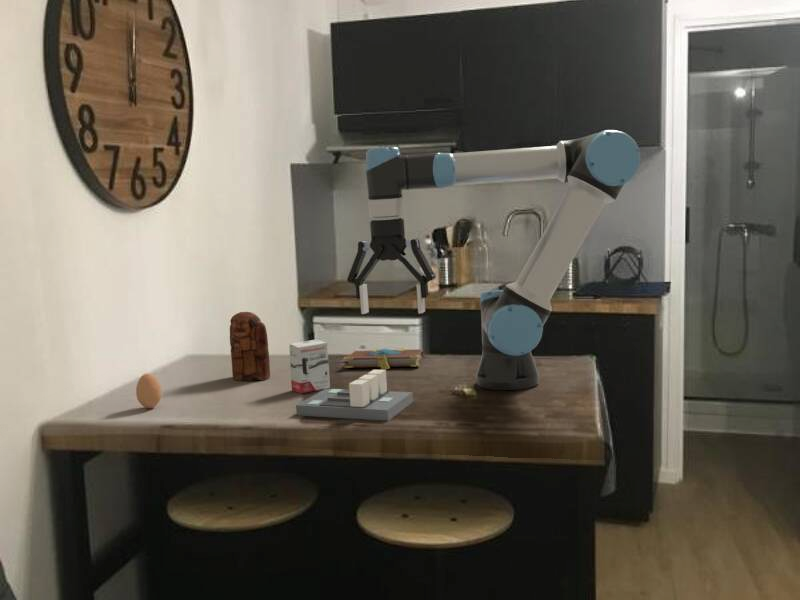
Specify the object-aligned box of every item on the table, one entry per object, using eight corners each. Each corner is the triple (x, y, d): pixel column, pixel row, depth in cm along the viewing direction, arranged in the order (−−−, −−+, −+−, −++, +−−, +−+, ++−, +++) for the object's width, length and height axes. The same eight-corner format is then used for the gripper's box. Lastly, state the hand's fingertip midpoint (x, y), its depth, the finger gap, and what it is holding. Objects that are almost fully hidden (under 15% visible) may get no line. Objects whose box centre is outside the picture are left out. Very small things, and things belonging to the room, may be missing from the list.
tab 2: (378, 396, 190) (377, 375, 190) (372, 400, 187) (370, 378, 186) (366, 396, 191) (365, 374, 191) (359, 400, 188) (358, 378, 187)
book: (340, 363, 246) (339, 346, 245) (425, 361, 242) (424, 344, 242) (328, 373, 230) (327, 354, 229) (418, 371, 226) (417, 352, 226)
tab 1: (369, 402, 186) (368, 380, 185) (363, 407, 182) (361, 384, 182) (357, 401, 187) (355, 379, 186) (350, 406, 184) (349, 383, 183)
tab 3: (387, 391, 195) (385, 369, 194) (380, 395, 192) (379, 373, 191) (375, 390, 196) (373, 369, 195) (368, 394, 193) (367, 373, 192)
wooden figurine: (225, 381, 225) (219, 314, 223) (236, 375, 231) (231, 310, 229) (265, 381, 222) (259, 314, 219) (275, 376, 228) (270, 310, 225)
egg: (142, 405, 204) (139, 371, 203) (166, 404, 204) (162, 370, 203) (134, 411, 199) (130, 377, 198) (158, 410, 199) (155, 375, 197)
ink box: (300, 394, 207) (297, 346, 205) (291, 390, 211) (288, 343, 209) (331, 387, 212) (328, 341, 210) (321, 384, 216) (318, 338, 214)
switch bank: (413, 402, 194) (412, 389, 193) (388, 420, 180) (387, 406, 180) (326, 397, 202) (325, 385, 201) (296, 415, 188) (295, 402, 188)
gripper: (445, 214, 187) (451, 309, 190) (341, 219, 195) (348, 310, 198) (435, 216, 180) (441, 315, 183) (328, 222, 188) (335, 316, 191)
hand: (393, 313), depth 190 cm, fingers open, 13 cm apart
